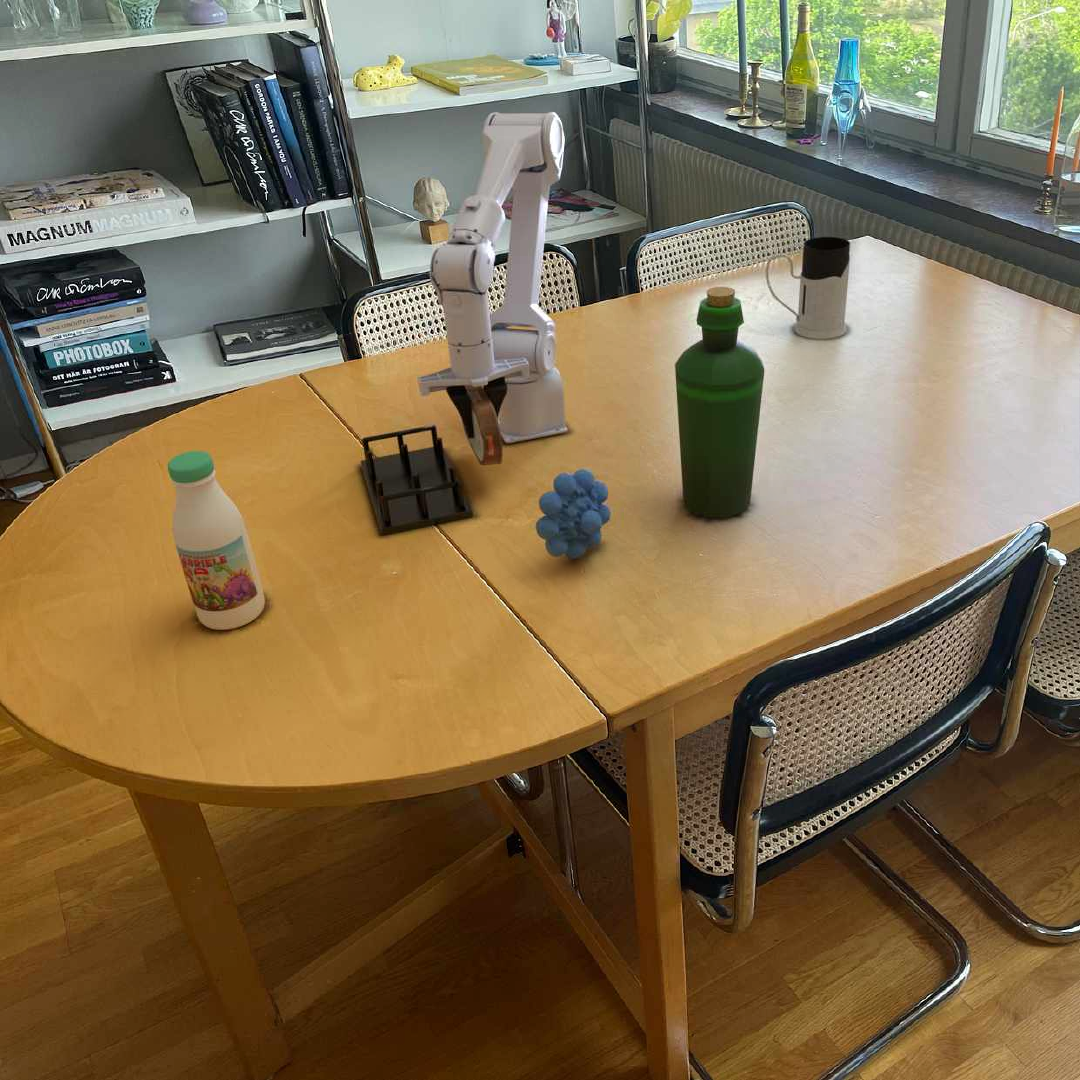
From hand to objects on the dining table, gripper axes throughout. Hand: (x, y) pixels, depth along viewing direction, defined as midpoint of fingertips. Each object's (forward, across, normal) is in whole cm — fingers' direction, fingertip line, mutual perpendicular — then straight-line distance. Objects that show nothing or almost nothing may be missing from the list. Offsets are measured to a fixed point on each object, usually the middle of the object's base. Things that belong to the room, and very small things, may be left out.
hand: (480, 433), depth 140 cm
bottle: (+7, +26, -19) cm, 33 cm away
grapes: (+7, +6, -25) cm, 27 cm away
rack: (+7, -10, 0) cm, 12 cm away
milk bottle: (+7, -35, -20) cm, 41 cm away
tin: (+3, 0, 0) cm, 3 cm away
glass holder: (+7, +64, +29) cm, 71 cm away
